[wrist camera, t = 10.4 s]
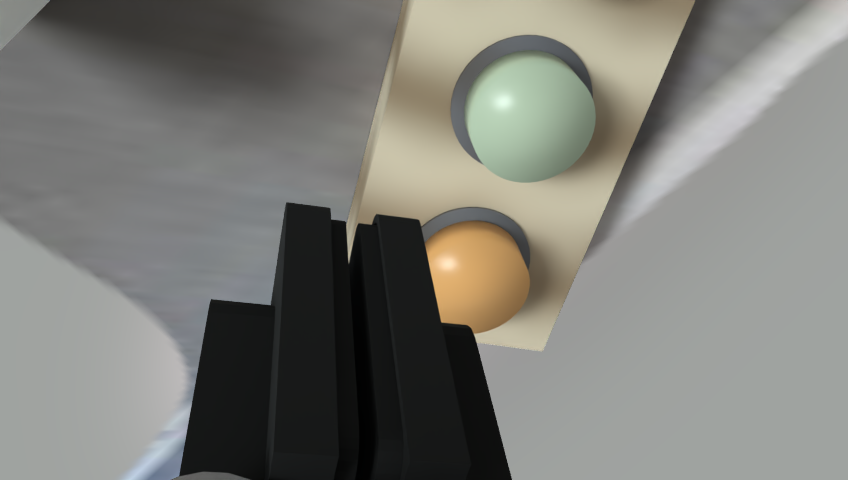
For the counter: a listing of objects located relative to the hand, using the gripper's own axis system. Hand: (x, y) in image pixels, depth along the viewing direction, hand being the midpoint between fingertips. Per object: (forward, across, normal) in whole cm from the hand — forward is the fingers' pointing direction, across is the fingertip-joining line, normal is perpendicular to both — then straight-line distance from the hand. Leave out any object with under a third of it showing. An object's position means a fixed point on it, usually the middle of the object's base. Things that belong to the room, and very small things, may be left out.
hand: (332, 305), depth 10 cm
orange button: (+21, -9, +13) cm, 27 cm away
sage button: (+22, -9, +5) cm, 24 cm away
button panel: (+24, -9, +5) cm, 26 cm away
